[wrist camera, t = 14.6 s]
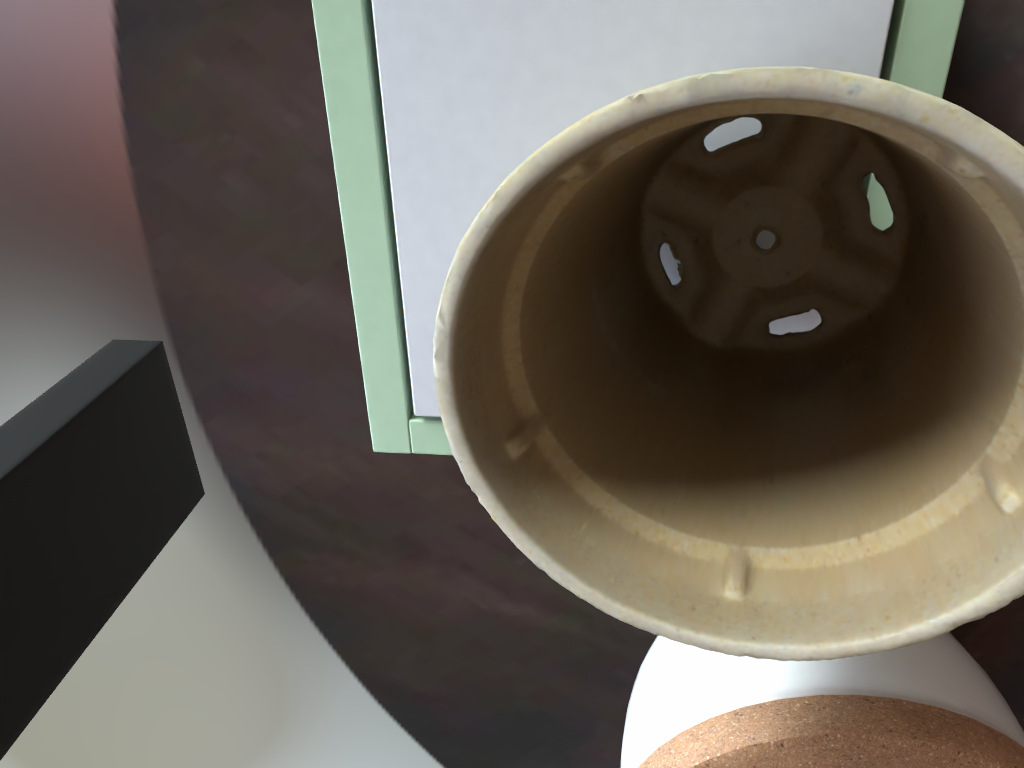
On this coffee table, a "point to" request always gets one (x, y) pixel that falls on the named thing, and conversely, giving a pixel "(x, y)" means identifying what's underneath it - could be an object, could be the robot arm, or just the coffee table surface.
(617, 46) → the pan
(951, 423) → the flower pot
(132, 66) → the coffee table surface
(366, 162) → the scale
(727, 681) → the lidded bowl
